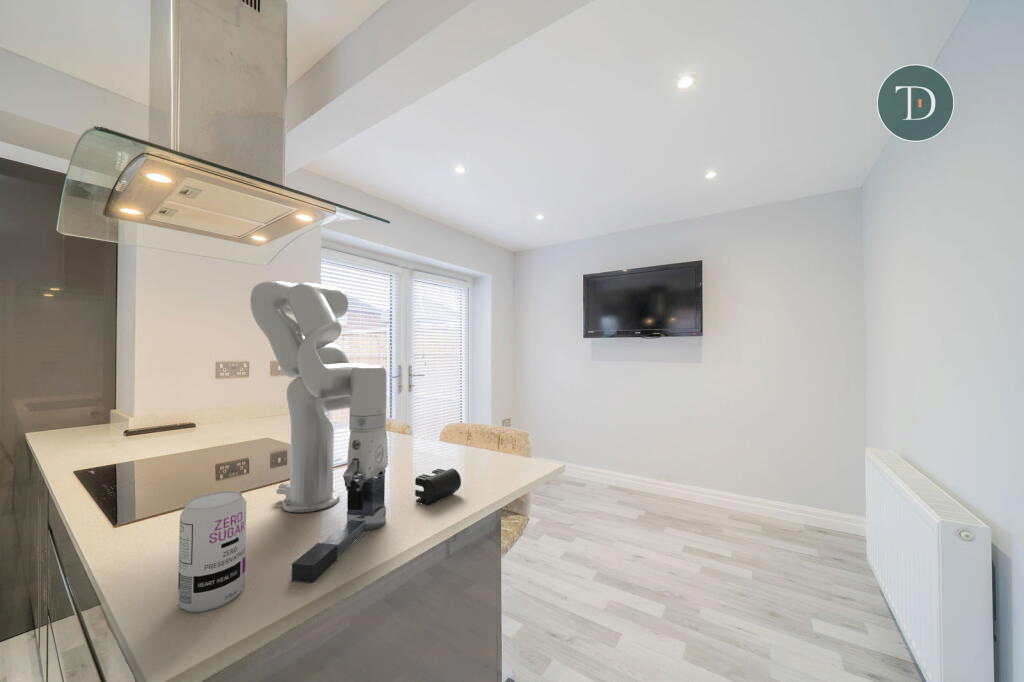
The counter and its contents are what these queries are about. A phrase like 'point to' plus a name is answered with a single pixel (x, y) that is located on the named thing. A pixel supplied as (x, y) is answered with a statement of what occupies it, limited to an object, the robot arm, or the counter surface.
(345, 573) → the counter surface
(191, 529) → the supplement can
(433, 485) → the end cap
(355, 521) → the ratchet
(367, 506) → the socket
